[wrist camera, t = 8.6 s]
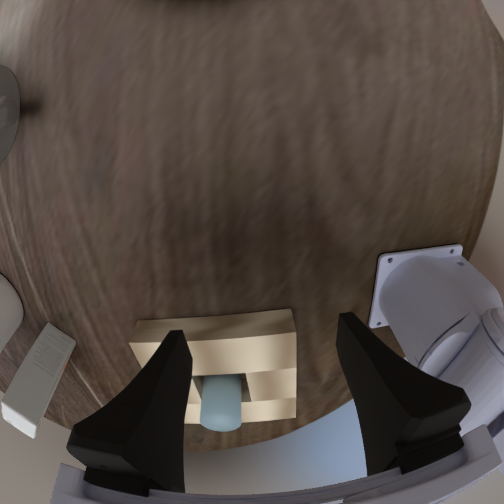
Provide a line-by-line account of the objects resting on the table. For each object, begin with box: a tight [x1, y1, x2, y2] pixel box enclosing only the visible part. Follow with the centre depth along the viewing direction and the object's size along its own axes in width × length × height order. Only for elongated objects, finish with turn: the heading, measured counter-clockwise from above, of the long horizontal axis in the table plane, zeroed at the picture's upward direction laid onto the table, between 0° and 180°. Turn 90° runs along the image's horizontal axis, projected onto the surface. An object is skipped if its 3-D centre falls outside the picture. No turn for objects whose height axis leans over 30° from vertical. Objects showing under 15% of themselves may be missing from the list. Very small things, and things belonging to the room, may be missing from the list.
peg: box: [200, 373, 241, 431], centre depth 25 cm, size 4×4×7 cm
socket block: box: [129, 309, 296, 423], centre depth 27 cm, size 14×14×3 cm
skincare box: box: [1, 322, 76, 439], centre depth 21 cm, size 6×4×12 cm
